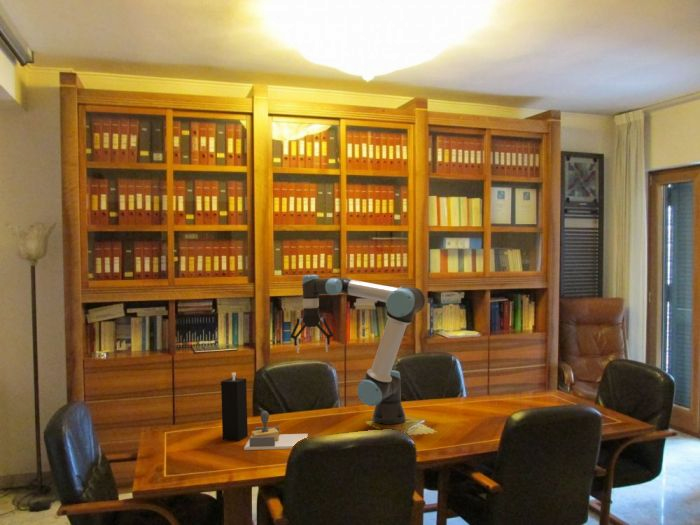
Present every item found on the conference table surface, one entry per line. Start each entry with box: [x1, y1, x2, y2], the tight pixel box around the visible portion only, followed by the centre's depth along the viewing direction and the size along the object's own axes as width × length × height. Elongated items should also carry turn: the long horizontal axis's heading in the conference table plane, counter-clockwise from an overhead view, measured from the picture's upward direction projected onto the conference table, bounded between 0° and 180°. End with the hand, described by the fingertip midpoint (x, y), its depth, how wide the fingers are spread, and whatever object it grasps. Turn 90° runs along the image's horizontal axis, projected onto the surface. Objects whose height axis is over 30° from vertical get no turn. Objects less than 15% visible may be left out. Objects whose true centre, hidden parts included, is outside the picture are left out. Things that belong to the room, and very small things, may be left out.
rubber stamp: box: [251, 410, 280, 440], centre depth 225 cm, size 10×6×12 cm, turn 115°
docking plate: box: [243, 426, 309, 451], centre depth 225 cm, size 24×16×4 cm, turn 90°
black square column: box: [220, 371, 249, 442], centre depth 233 cm, size 8×8×28 cm
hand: (312, 352), depth 259 cm, fingers open, 13 cm apart
